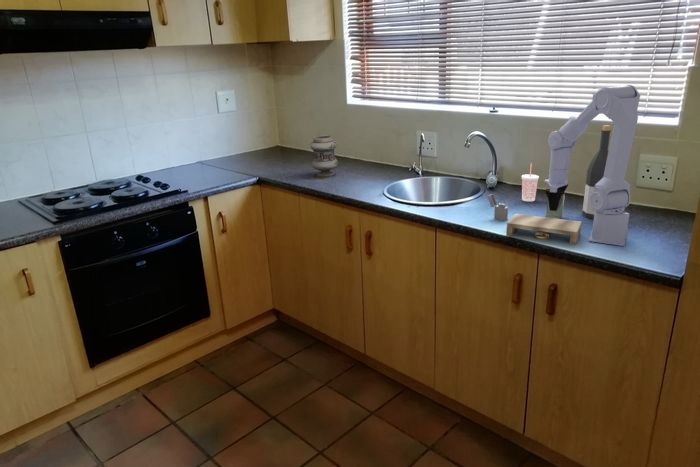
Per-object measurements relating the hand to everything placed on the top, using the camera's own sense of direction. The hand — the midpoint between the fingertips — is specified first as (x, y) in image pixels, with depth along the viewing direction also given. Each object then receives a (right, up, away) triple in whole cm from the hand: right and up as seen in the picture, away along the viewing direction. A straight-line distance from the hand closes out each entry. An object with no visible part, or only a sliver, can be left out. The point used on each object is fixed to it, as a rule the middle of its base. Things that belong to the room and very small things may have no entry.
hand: (554, 207), depth 177 cm
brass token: (-10, -10, -15) cm, 21 cm away
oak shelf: (-9, -9, -14) cm, 19 cm away
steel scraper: (-3, -5, -4) cm, 8 cm away
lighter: (-19, -4, +2) cm, 19 cm away
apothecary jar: (-80, +18, +67) cm, 106 cm away
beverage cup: (-2, +4, +20) cm, 21 cm away
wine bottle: (+14, -3, +1) cm, 14 cm away
